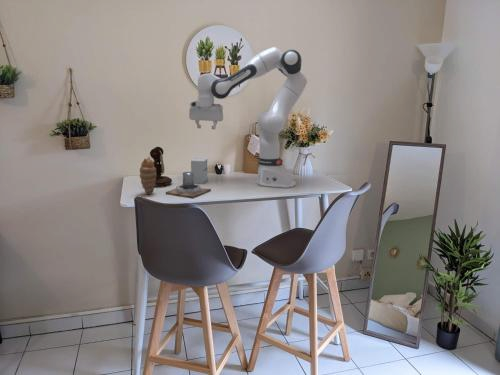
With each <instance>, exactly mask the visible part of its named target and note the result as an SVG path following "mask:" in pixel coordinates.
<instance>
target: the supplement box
mask: <svg viewBox="0 0 500 375" xmlns="http://www.w3.org/2000/svg"><path fill="white" fill-rule="evenodd" d="M190 172H193V173H194V184H203V185H204V184H206V182H208V158H194V159H191V161H190Z"/></svg>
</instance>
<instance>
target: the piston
mask: <svg viewBox="0 0 500 375" xmlns="http://www.w3.org/2000/svg"><path fill="white" fill-rule="evenodd" d="M182 184H183V189H194V184H195V183H194V173H193V172H191V171H184V172H182Z"/></svg>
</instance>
